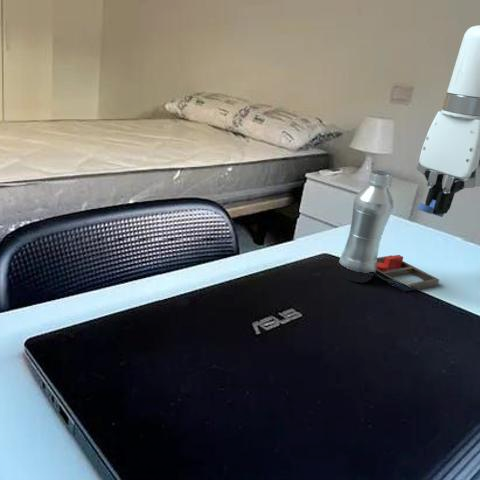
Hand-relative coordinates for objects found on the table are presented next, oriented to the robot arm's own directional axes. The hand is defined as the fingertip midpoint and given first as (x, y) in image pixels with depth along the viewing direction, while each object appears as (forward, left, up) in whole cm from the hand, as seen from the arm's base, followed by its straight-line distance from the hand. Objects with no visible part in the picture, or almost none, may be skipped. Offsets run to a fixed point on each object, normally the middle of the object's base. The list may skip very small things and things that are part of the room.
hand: (435, 211), depth 90 cm
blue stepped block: (0, +1, 0) cm, 1 cm away
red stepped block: (+4, +3, -12) cm, 14 cm away
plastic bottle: (+7, +12, -13) cm, 19 cm away
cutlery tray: (+2, +5, -13) cm, 14 cm away
